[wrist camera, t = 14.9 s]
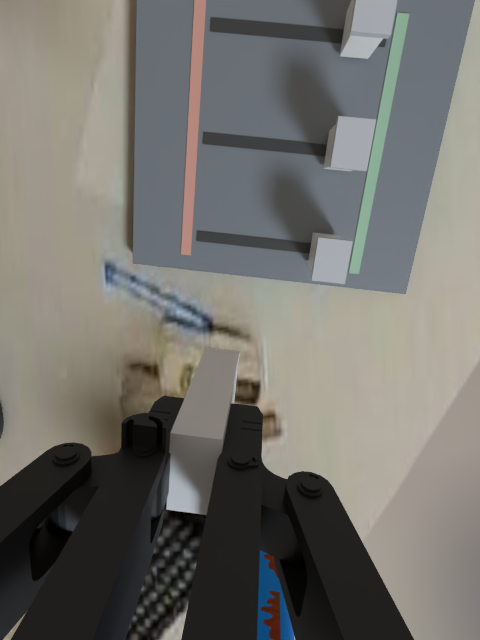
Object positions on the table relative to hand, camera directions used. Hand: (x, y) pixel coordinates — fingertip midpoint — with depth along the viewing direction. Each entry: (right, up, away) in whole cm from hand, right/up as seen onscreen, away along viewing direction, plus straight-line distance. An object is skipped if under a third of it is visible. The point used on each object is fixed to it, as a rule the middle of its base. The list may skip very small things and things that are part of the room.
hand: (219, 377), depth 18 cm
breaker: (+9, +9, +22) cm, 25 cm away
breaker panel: (+5, +19, +21) cm, 29 cm away
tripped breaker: (+10, +18, +19) cm, 28 cm away
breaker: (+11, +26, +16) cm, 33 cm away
